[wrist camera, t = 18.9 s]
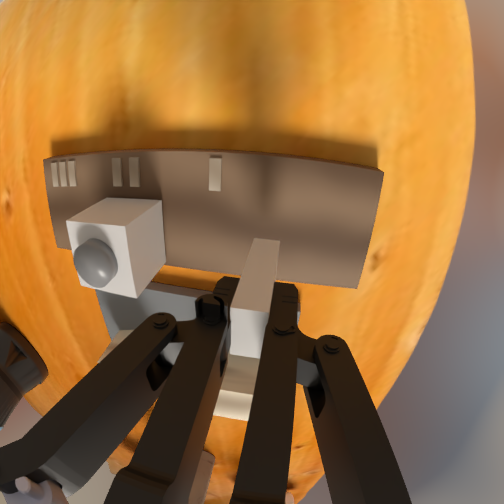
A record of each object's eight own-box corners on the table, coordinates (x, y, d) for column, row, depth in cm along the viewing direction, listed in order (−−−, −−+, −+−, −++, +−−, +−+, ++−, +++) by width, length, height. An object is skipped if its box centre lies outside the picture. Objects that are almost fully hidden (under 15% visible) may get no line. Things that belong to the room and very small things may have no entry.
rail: (353, 278, 22) (357, 290, 20) (66, 241, 24) (56, 248, 23) (377, 168, 17) (384, 172, 16) (53, 156, 20) (41, 160, 19)
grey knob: (166, 261, 21) (130, 307, 16) (114, 254, 22) (73, 292, 16) (161, 200, 19) (115, 233, 14) (106, 197, 19) (56, 226, 14)
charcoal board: (282, 384, 29) (281, 393, 28) (122, 352, 31) (118, 358, 30) (300, 302, 23) (300, 311, 22) (98, 271, 25) (92, 277, 24)
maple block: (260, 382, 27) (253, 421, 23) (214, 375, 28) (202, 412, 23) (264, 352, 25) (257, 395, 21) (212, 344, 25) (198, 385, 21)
